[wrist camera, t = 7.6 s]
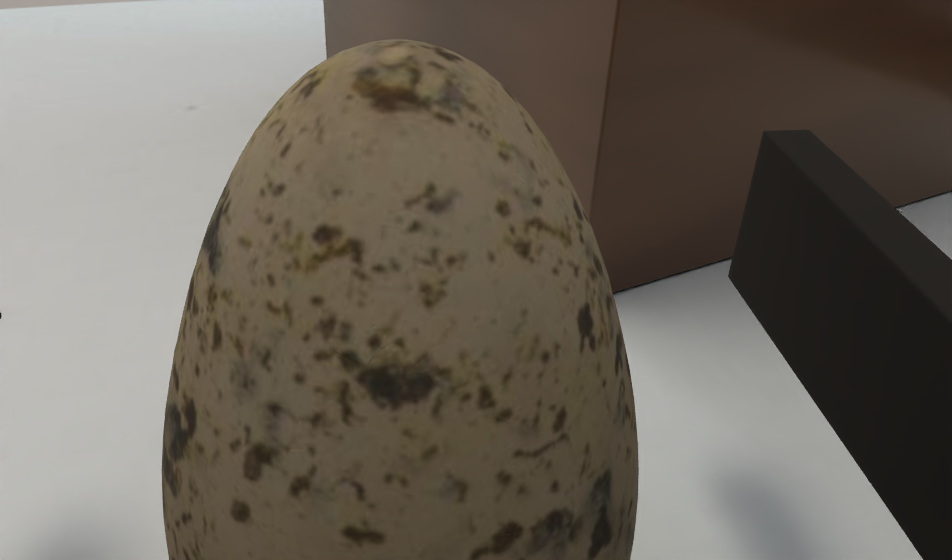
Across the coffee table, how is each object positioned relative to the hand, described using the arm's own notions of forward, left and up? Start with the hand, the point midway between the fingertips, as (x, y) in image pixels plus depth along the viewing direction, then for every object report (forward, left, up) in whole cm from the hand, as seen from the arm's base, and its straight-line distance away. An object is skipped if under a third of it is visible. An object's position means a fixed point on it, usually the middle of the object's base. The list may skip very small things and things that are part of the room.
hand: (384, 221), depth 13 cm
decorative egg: (-3, +1, -6) cm, 7 cm away
